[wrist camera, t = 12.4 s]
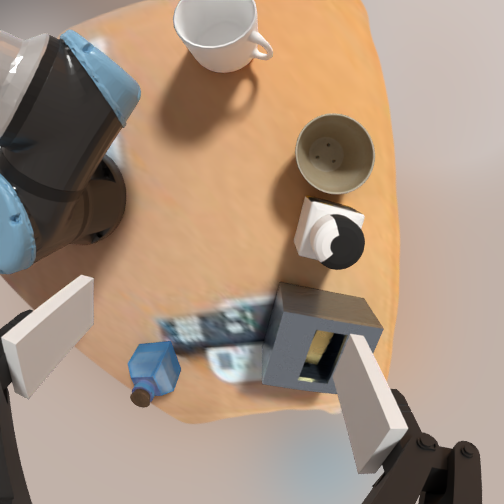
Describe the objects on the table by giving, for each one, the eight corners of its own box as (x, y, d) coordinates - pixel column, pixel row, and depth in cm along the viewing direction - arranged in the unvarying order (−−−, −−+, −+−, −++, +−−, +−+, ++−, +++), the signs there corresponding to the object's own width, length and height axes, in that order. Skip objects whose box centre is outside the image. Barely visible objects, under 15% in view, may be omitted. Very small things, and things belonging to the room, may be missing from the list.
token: (298, 339, 52) (301, 360, 46) (313, 309, 50) (318, 328, 44) (311, 343, 52) (316, 364, 46) (327, 313, 50) (334, 332, 44)
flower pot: (358, 122, 42) (374, 116, 35) (358, 189, 45) (374, 195, 38) (290, 118, 43) (295, 111, 36) (290, 188, 45) (295, 193, 38)
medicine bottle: (351, 206, 46) (378, 223, 34) (338, 252, 48) (360, 281, 36) (305, 194, 46) (319, 207, 34) (292, 241, 48) (302, 269, 36)
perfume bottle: (139, 344, 54) (115, 384, 42) (170, 340, 53) (151, 383, 42) (150, 371, 55) (130, 414, 44) (181, 369, 55) (165, 414, 43)
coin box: (262, 346, 53) (262, 384, 43) (279, 281, 49) (283, 311, 40) (340, 359, 53) (352, 395, 44) (363, 298, 50) (383, 328, 40)
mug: (203, 14, 38) (187, -21, 27) (282, 29, 39) (288, -7, 27) (185, 68, 41) (162, 43, 30) (266, 84, 41) (267, 61, 30)
